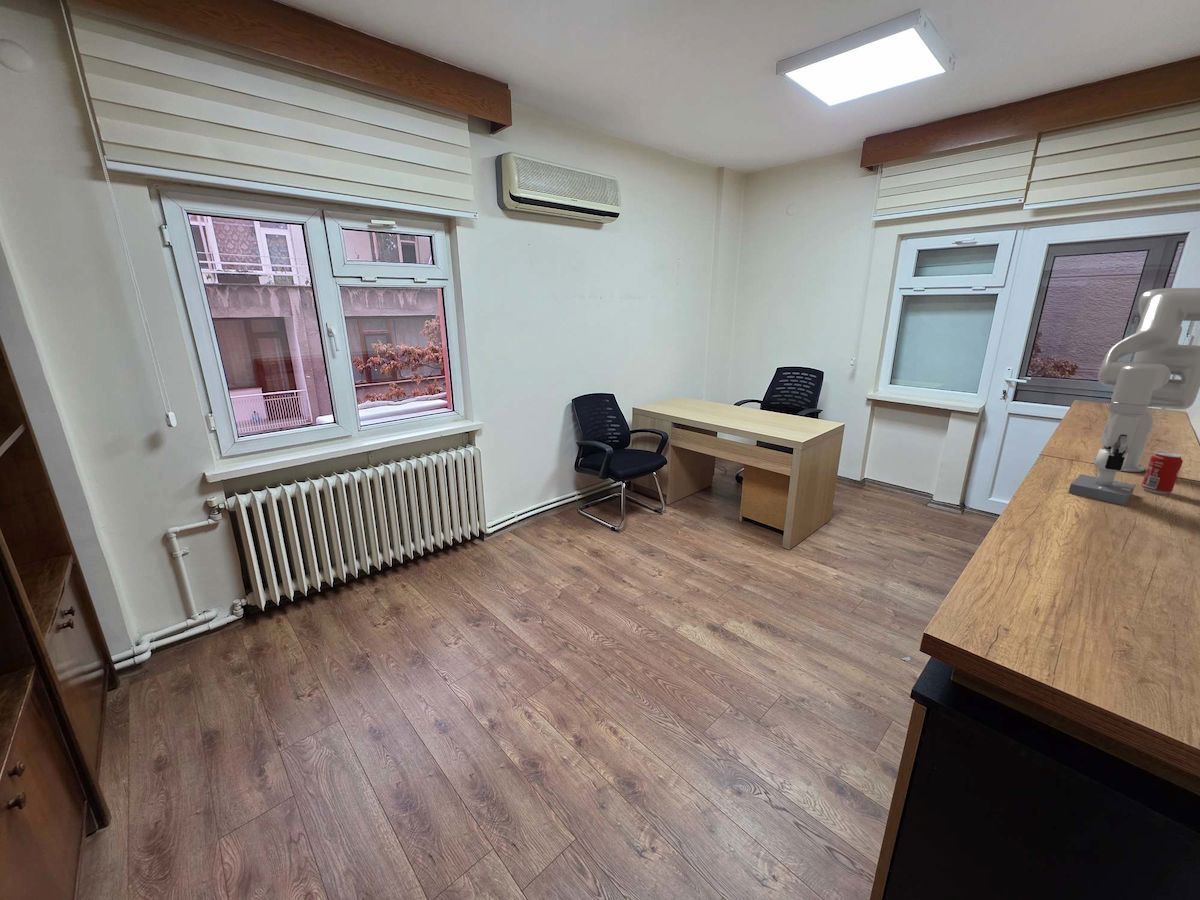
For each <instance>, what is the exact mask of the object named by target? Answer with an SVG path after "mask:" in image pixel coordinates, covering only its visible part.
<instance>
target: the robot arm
mask: <svg viewBox="0 0 1200 900" xmlns="http://www.w3.org/2000/svg"><path fill="white" fill-rule="evenodd" d="M1138 313H1139V316H1140V321H1139V323H1138V326H1137V328H1136V330H1135V333H1134V334H1132V335H1129V336H1127V337H1125V338H1124V339H1122V340H1120V341H1118V342H1117V343H1115V344H1114V345H1113V346H1112V347H1110V348H1109V349H1108V351H1107V353H1106V354H1105V356H1104V358H1103V360H1102V363H1101V365H1100V367H1099V370H1098V373H1097V381H1098V382H1099V384H1100V385H1102V386H1106V387H1114V389H1113V393H1112V395H1111V399H1110V400H1109V401H1110V402H1109V406H1108V409H1107V410H1106V412H1107V413H1108V414H1109V416H1108V418H1107V420H1106V423H1105V425H1104V429H1103V431H1102V434H1101V437H1100V443H1101V444H1102V445H1103V447H1101V449H1111V454H1110V455H1109V456H1108V459H1107V462H1106V465H1105V468H1106V469H1111V470H1118V471H1117V472H1121V471H1120V470H1121V468H1122V465H1123V462H1124V459H1125V453H1128V456H1127V459H1126V462H1125V465H1124V468H1123V471H1122V472H1129V473H1141V472H1144V471H1145V467H1144V466H1143V465H1141V464H1140V462H1141V459H1142V456H1143V454H1144V450H1145V448H1146V444H1147V441H1148V438H1149V436H1150V433H1151V430H1152V426H1153V425H1154V417H1153V415H1152V414H1151V412H1150V410H1148V408H1149V407H1150V408H1158V409H1159V408H1160V409H1162V408H1163V409H1170V410H1186V409H1189V408H1190V407H1192V406H1193V404H1194V403H1195V401H1196V398H1197V396H1198V394H1199V390H1200V345H1194V344H1192V345H1191V344H1179V342H1180V341H1179V340H1180V338H1181V334H1182V331H1183V327H1182V324H1183V322H1185V321H1186V322H1188V321H1191V322H1192V321H1193V322H1200V287H1168V288H1164V287H1163V288H1155V289H1154V288H1153V289H1150V290H1147V291H1145V292H1143V293H1142V294H1141V295H1140V297H1139V299H1138ZM1134 353H1135V355H1134V358H1133V361H1123V360H1122V361H1121V360H1119V359H1121V358H1123V357H1125V356H1127V355H1131V354H1134ZM1171 375H1172V376H1174V375H1175V376H1179V377H1180V379H1179V378H1178V379H1176V378H1171ZM1096 459H1097V457H1096V458H1093V460H1092V463H1093V464H1094V465H1095V462H1096Z"/></svg>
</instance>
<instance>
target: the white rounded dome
mask: <svg viewBox="0 0 1200 900" xmlns="http://www.w3.org/2000/svg"><path fill="white" fill-rule="evenodd" d="M1110 454H1111V449H1102V448H1099V449H1098V452H1097V455H1096V458H1097V459H1096V458H1095V459H1096V462H1095V464H1094V467H1095V468H1098V469H1099V468H1101V469H1105V470H1111V469H1106V468H1105V465H1106V462H1107V459H1108V456H1109V455H1110ZM1127 456H1128V453H1125V459H1124V462H1123V465H1122V468H1121V470H1120V471H1118V470H1111V471H1116V472H1124V471H1123V468H1124V465H1125V462H1126V459H1127Z"/></svg>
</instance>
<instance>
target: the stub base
mask: <svg viewBox="0 0 1200 900" xmlns="http://www.w3.org/2000/svg"><path fill="white" fill-rule="evenodd" d="M1116 474H1117V471H1111V470H1105V469H1101V468H1098V471H1097V474H1096V476H1091V475H1087V474H1080V475H1079V476H1077V477H1076V478H1075V479H1074V480H1073V481H1072V482H1071V483H1070V487H1069V490H1068V494H1070V493H1072V494H1071V495H1075V494H1076V495H1075V496H1080V495H1081V496H1080V497H1086V498H1089V499H1093V500H1098V501H1103V502H1106V503H1107V502H1108V503H1113V504H1116V503H1117V505H1121V504H1122V505H1121V506H1126V505H1127V502H1128V501H1129V500H1130V498H1131V497H1132V496H1133V493H1134V490H1135V487H1136V484H1134V483H1129V482H1128V483H1127V482H1122V481H1117V480H1114V479H1115V477H1116ZM1130 496H1131V497H1130ZM1125 504H1126V505H1125Z"/></svg>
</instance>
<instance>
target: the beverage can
mask: <svg viewBox="0 0 1200 900" xmlns="http://www.w3.org/2000/svg"><path fill="white" fill-rule="evenodd" d="M1181 457H1182V455H1181V454H1178V453H1173V452H1170V451H1169V452H1168V451H1156V452H1155V453H1154V454H1153V455H1151V457H1150V460H1149V462H1148V464H1147V469H1146V471H1145V474H1144V476H1143V480H1142V483H1141V487H1142V488H1143V490H1144V491H1146V492H1149V493H1152V494H1157V495H1158V494H1159V495H1167V494H1169V493H1171V492H1172V491H1173V489H1174V487H1175V484H1176V482H1177V479H1178V476H1179V473H1180V470H1181V469H1182V468H1181V467H1182V465H1183V462H1184V460H1183V459H1182V458H1181Z"/></svg>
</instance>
